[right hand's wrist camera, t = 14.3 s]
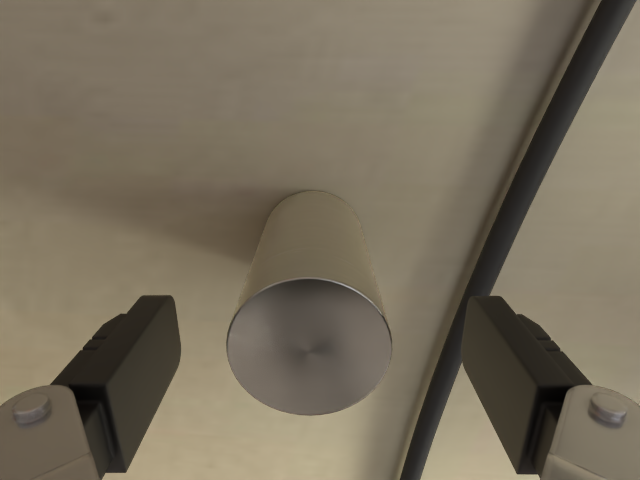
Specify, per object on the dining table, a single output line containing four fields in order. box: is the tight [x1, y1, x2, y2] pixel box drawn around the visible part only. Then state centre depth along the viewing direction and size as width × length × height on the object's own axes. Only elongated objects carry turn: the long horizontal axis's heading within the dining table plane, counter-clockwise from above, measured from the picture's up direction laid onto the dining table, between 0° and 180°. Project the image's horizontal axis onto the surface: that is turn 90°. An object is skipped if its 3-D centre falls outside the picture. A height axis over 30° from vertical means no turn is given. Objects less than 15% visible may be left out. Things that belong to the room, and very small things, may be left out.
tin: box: [226, 191, 392, 415], centre depth 14 cm, size 4×4×8 cm
